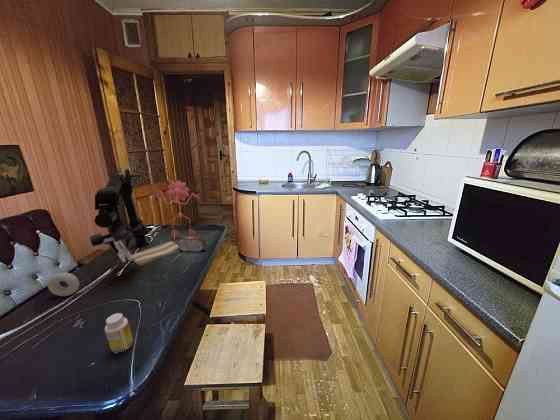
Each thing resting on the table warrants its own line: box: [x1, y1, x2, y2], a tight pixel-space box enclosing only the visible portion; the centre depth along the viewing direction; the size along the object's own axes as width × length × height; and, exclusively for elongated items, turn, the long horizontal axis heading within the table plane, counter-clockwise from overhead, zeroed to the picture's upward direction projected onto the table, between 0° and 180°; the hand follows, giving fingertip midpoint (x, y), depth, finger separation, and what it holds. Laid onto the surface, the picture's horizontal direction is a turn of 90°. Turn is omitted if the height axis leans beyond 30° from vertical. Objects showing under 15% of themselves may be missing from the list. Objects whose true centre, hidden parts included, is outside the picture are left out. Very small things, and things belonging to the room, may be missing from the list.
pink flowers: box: [154, 180, 202, 241], centre depth 142 cm, size 15×26×35 cm, turn 96°
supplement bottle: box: [104, 312, 134, 354], centre depth 68 cm, size 6×6×10 cm
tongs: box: [113, 240, 132, 263], centre depth 105 cm, size 18×3×4 cm, turn 45°
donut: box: [47, 272, 80, 297], centre depth 92 cm, size 10×4×10 cm, turn 103°
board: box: [131, 240, 182, 267], centre depth 125 cm, size 13×22×2 cm, turn 142°
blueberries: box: [72, 318, 87, 329], centre depth 78 cm, size 7×8×2 cm
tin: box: [176, 235, 207, 253], centre depth 126 cm, size 15×3×8 cm, turn 84°
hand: (122, 252), depth 104 cm, fingers closed on tongs, 3 cm apart
